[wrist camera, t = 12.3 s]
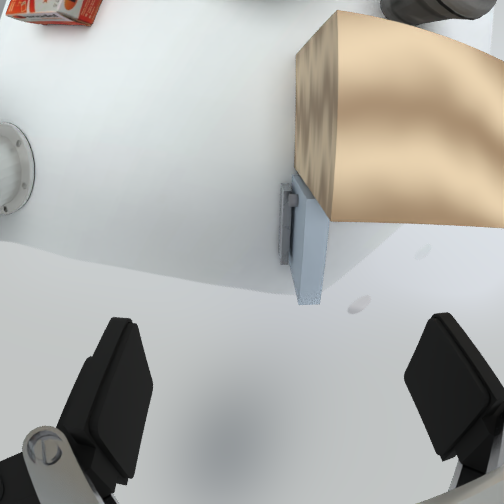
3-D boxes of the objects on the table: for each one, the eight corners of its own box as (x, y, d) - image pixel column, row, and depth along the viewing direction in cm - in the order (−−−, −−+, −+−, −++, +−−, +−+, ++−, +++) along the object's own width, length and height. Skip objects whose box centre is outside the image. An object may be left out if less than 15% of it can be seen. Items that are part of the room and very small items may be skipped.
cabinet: (426, 176, 32) (517, 229, 17) (294, 167, 32) (330, 221, 17) (433, 77, 26) (534, 78, 12) (295, 54, 26) (337, 9, 12)
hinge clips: (318, 251, 36) (323, 264, 33) (278, 251, 36) (280, 264, 33) (323, 184, 32) (330, 191, 30) (280, 183, 32) (283, 190, 30)
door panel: (305, 259, 36) (319, 304, 28) (281, 259, 36) (289, 305, 28) (310, 174, 32) (331, 199, 24) (284, 174, 32) (296, 198, 24)
